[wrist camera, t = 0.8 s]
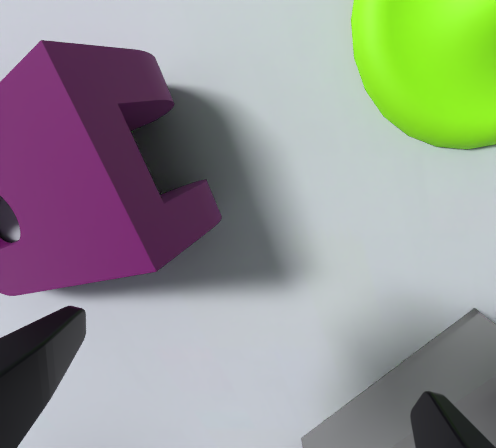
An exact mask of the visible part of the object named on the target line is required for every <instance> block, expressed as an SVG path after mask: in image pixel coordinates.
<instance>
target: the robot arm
mask: <svg viewBox="0 0 496 448" xmlns="http://www.w3.org/2000/svg"><path fill="white" fill-rule="evenodd" d="M85 335H86V313H85V310H84V309H82V308H78V307H74V306H67V307H64V308H62V309H60V310H58V311H56V312H54V313H52V314H50V315H47V316H45V317H43V318H41V319H39V320H37V321H35V322H33V323H31V324H29V325H27V326H24V327H22V328H20V329H18V330H16V331H14V332H12V333H10V334H8V335H6V336H4V337H2V338H0V448H17V447H18V445H19V444H20V442H21V441H22V440H23V438H24V437H25V435H26V434H27V432H28V431H29V430H30V428H31V427H32V425H33V424H34V422H35V421H36V419H37V418H38V417H39V415H40V414H41V412H42V411H43V409H44V408H45V406H46V405H47V403H48V402H49V400H50V399H51V397H52V396H53V394H54V392H55V390H56V389H57V387H58V385H59V383H60V382H61V380H62V378H63V376H64V375H65V373H66V371H67V369H68V367H69V366H70V364H71V362H72V360H73V359H74V357H75V355H76V353H77V351H78V350H79V348H80V346H81V344H82V342H83V341H84V338H85ZM410 421H411V426H412V432H413V437H414V443H415V448H496V447H495V446H494V445H493V444H492V443H491V442H490V441H489V440H488V439H487V438H486V437H485V436H484V435H483V434H482V433H481V432H480V431H479V430H478V429H477V428H476V427H475V426H474V425H473V424H472V423H471V422H470V421H469V420H468V419H467V418H466V417H465V416H464V415H463V414H462V413H461V412H460V411H459V410H458V409H457V408H456V407H455V406H454V405H453V404H452V403H451V402H450V401H449V400H448V399H447V398H446V397H445V396H444V395H443V394H441V393H437V392H433V391H429V390H426V391H424V392H423V393H422V394H421V396H420V397H419V399H418V400H417V402H416V403H415V404H414V406H413V407H412V409H411V413H410Z"/></svg>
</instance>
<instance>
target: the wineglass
mask: <svg viewBox="0 0 496 448" xmlns="http://www.w3.org/2000/svg"><path fill="white" fill-rule="evenodd" d="M351 26H352V38H353V50H354V59H355V62H356V64H357V67H358V70H359V73H360V76H361V79H362V82H363V85H364V87H365V90H366V92H367V93H368V95H369V96H370V97H371V99H372V100H373V102H374V103H375V105H376V106H377V107H378V109H379V110H380V112H381V113H382V115H383V116H384V117H385V118H386V119H388V120H389V121H390V122H391V123H393V124H394V125H395V126H396V127H398V128H399V129H400V130H401V131H403V132H404V133H405V134H407V135H408V136H410V137H413V138H415V139H418V140H421V141H423V142H426V143H428V144H431V145H433V146H436V147H446V148H457V149H472V148H478V147H484V146H489V145H495V144H496V0H354V4H353V10H352V17H351Z"/></svg>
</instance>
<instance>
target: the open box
mask: <svg viewBox="0 0 496 448" xmlns="http://www.w3.org/2000/svg"><path fill="white" fill-rule="evenodd" d="M426 390H429V391H433V392H437V393H441V394H443V395H444V396H445V397H446V398H447V399H448V400H449V401H450V402H451V403H452V404H453V405H454V406H455V407H456V408H457V409H458V410H459V411H460V412H461V413H462V414H463V415H464V416H465V417H466V418H467V419H468V420H469V421H470V422H471V423H472V424H473V425H474V426H475V427H476V428H477V429H478V430H479V431H480V432H481V433H482V434H483V435H484V436H485V437H486V438H487V439H488V440H489V441H490V442H491V443H492V444H493V445H494V446H495V447H496V324H495V323H493V322H492V321H491V320H489V319H488V318H487V317H485V316H484V315H483V314H482V313H480V312H479V311H478V310H476V309H475V308H474V309H473V310H471V311H470V312H469V313H467V314H466V315H465V316H463V317H462V318H461V319H459V320H458V321H457V322H455V323H454V324H453V325H451V326H450V327H449V328H447V329H446V330H445V331H443V332H442V333H441V334H439V335H438V336H437V337H435V338H434V339H433V340H431V341H430V342H429V343H427V344H426V345H425V346H423V347H422V348H421V349H419V350H418V351H417V352H416V353H414V354H413V355H412V356H410V357H409V358H408V359H406V360H405V361H404V362H402V363H401V364H400V365H398V366H397V367H396V368H394V369H393V370H392V371H390V372H389V373H388V374H386V375H385V376H384V377H382V378H381V379H380V380H378V381H377V382H376V383H374V384H373V385H372V386H370V387H369V388H368V389H366V390H365V391H364V392H362V393H361V394H360V395H358V396H357V397H356V398H354V399H353V400H352V401H350V402H349V403H348V404H346V405H345V406H344V407H342V408H341V409H340V410H338V411H337V412H336V413H334V414H333V415H332V416H330V417H329V418H328V419H326V420H325V421H324V422H322V423H321V424H320V425H318V426H317V427H316V428H314V429H313V430H312V431H310V432H309V433H308V434H306V435H305V436H304V437H302V438H301V440H302V446H303V448H415V443H414V437H413V432H412V426H411V421H410V413H411V409H412V407H413V406H414V404H415V403H416V402H417V400H418V399H419V397H420V396H421V394H422V393H423V392H424V391H426Z"/></svg>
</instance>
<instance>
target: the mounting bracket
mask: <svg viewBox="0 0 496 448" xmlns="http://www.w3.org/2000/svg"><path fill="white" fill-rule="evenodd" d="M173 107H174V102H173V99H172V97H171V94H170V92H169V90H168V87H167V85H166V82H165V80H164V78H163V75H162V73H161V70H160V68H159V66H158V63H157V61H156V59H155V57H154V56H153V55H151V54H150V53H148V52H145V51H141V50H134V49H124V48H114V47H104V46H94V45H84V44H74V43H64V42H54V41H44V40H41V41H40V42H39V43H38V44H37V45H36V46H35V47H34V48H33V49H32V50H31V51H30V52H29V53H28V54H27V55H26V56H25V57H24V58H23V59H22V60H21V61H20V62H19V63H18V64H17V65H16V66H15V67H14V68H13V70H12V71H11V72H10V73H9V74H8V75H7V76H6V77H5V78H4V79H3V80H2V81H1V82H0V196H1V197H2V198H3V199H4V200H5V201H6V202H7V203H8V205H9V206H10V207H11V209H12V210H13V212H14V214H15V216H16V218H17V220H18V223H19V227H20V233H21V235H20V240H18V241H16V242H13V243H8V242H5V241H4V240H2V239H1V238H0V293H2V294H5V295H9V296H16V295H22V294H28V293H34V292H40V291H46V290H52V289H58V288H63V287H69V286H75V285H81V284H87V283H93V282H99V281H105V280H111V279H116V278H122V277H128V276H134V275H140V274H146V273H152V272H157V271H158V270H159V269H161V268H162V267H163V266H164V265H166V264H167V263H168V262H170V261H171V260H172V259H173V258H175V257H176V256H177V255H179V254H180V253H181V252H183V251H184V250H185V249H186V248H188V247H189V246H190V245H192V244H193V243H194V242H195V241H197V240H198V239H199V238H201V237H202V236H203V235H204V234H206V233H207V232H208V231H210V230H211V229H212V228H213V227H215V226H216V225H217V224H218V223H219V222H220V220H221V218H222V216H221V214H220V211H219V209H218V207H217V204H216V202H215V199H214V197H213V195H212V192H211V190H210V187H209V185H208V183H207V180H201V181H197V182H194V183H191V184H188V185H185V186H182V187H179V188H177V189H174V190H172V191H169V192H167V193H164V194H161V195H160V194H159V192H158V190H157V188H156V186H155V184H154V181H153V179H152V177H151V175H150V173H149V171H148V168H147V166H146V164H145V162H144V160H143V158H142V155H141V153H140V151H139V149H138V147H137V145H136V142H135V140H134V138H133V136H132V134H131V132H130V131H132V130H134V129H137V128H139V127H141V126H144V125H146V124H148V123H151V122H153V121H155V120H156V119H158V118H160V117H162V116H163V115H165V114H166V113H167V112H169V111H170V110H171V109H172V108H173Z"/></svg>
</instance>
